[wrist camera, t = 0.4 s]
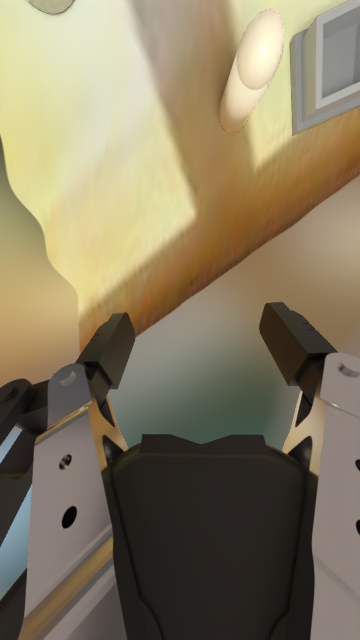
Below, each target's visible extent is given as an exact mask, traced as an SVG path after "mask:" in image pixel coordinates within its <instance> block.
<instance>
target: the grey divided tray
mask: <svg viewBox="0 0 360 640" xmlns="http://www.w3.org/2000/svg"><path fill="white" fill-rule="evenodd" d="M290 67H291V97H292V128H293V136H294V135H296V134H299V133H301V132H303V131H305V130H308V129H310V128H312V127H314V126H317V125H319V124H321V123H324V122H326V121H328V120H330V119H333V118H335V117H337V116H339V115H342V114H344V113H346V112H348V111H351V110H353V109H355V108H358V107H360V0H348V1H346V2H344V3H342V4H340V5H338V6H336V7H334V8H332V9H330V10H329V11H327V12H325V13H323V14H321V15H319V16H317V17H316V18H315V20H314V22H313V23H312V25H311V26H310V28H308V29H306V30H304V31H302V32H300V33H298V34H296V35H295V36H294V38H293V39H292V41H291V43H290Z"/></svg>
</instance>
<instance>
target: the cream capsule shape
mask: <svg viewBox="0 0 360 640" xmlns="http://www.w3.org/2000/svg"><path fill="white" fill-rule="evenodd" d="M283 47H284V25H283V21H282V18H281V16H280V15H279V13H278V12H277V11H275V10H273V9H266V10H263V11H261V12H260V13H258V14H257V15H256V16H255V17H254V18H253V19H252V21H251V22H250V23H249V25H248V26H247V28H246V30H245V32H244V34H243V36H242V39H241V41H240V44H239V47H238V50H237V53H236V56H235V60H234V63H233V66H232V69H231V72H230V75H229V78H228V81H227V84H226V87H225V90H224V94H223V97H222V100H221V103H220V107H219V120H220V123H221V125H222V127H223V129H224V130H225V131H227V132H229V133H236V132H238V131H240V130H241V129H242V128H243V127H244V126H245V124H246V122H247V121H248V119H249V117H250V115H251V114H252V112H253V110H254V109H255V107H256V105H257V103H258V102H259V100H260V98H261V97H262V95H263V93H264V91H265V90H266V88H267V86H268V85H269V83H270V81H271V79H272V78H273V76H274V74H275V72H276V70H277V68H278V65H279V63H280V60H281V56H282V52H283Z"/></svg>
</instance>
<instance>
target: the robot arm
mask: <svg viewBox="0 0 360 640" xmlns="http://www.w3.org/2000/svg"><path fill="white" fill-rule="evenodd" d="M28 1H29V2H30V3H31V4H32V5H33V6H35V7H36V8H38V9H39V10H41V11H43V12H46V13H49V14H57V13H60V12H62V11H65V10H66V9H67V8H68V7H69V6H70V5H71V3H72V2H73V0H28ZM259 330H260V334H261V336H262V338H263V340H264V342H265V344H266V345H267V347H268V349H269V351H270V353H271V355H272V357H273V358H274V360H275V362H276V364H277V366H278V368H279V370H280V371H281V373H282V375H283V377H284V379H285V381H286V382H287V384H288V386H299V387H300V389H301V390H302V391H301V392H300V394H299V397H298V402H297V406H296V410H295V414H294V419H293V422H292V427H291V430H290V433H289V435H288V437H287V439H286V441H285V444H284V447H283V450H282V451H280V450H279V449H277V448H275V447H273V446H270V445H268V444H266V443H265V440H264V437H263V435H230V436H226V437H223V438H221V439H217V440H214V441H211V442H208V443H205V444H198V443H194V442H191V441H189V440H186V439H182V438H180V437H176V436H174V435H170V434H167V435H166V434H155V435H153V434H150V435H149V434H147V435H146V434H143V435H142V441H141V443H139V444H137V445H135V446H132V447H131V448H129V449H128V447H127V444H126V442H125V440H124V438H123V436H122V434H121V433H120V431H119V428H118V425H117V422H116V419H115V416H114V413H113V410H112V407H111V404H110V401H109V399H108V396H107V393H108V391H109V389H118V386H119V383H120V381H121V378H122V375H123V372H124V370H125V367H126V364H127V361H128V359H129V355H130V353H131V350H132V347H133V345H134V342H135V331H134V328H133V325H132V323H131V320H130V317H129V315H128V313H126V312H124V313H113V314H112V316H111V317H110V319H109V320H108V322H105V323H104V324H103V325H101V326H100V327H99V328H98V329H97V331H96V332H95V334H94V336H93V337H92V338H91V341H89V343H88V344H87V346H86V347H85V349H84V350H83V352H82V353H81V355H80V356H79V358H78V359H77V361H76V362H75V363H73V364H69V365H67V366H65V367H63V368H61V369H60V370H58V371H57V372H56V373H55V374H54V375H53V376H52V378H51V379H50V380H47V381H44V382H40V383H37V384H34V385H33V384H31V383H30V382H29V381H28V380H26V379H17V380H14V381H11V382H9V383H7V384H6V385H4V386H2V387H1V388H0V446H1V444H2V443H3V441H4V440H5V439H6V437H7V436H8V434H9V433H10V431H11V430H12V429H13V427H14V426H16V427H18V428H20V429H22V432H21V433H20V435H19V436H18V438H17V439H16V441H15V442H14V444H13V445H12V447H11V448H10V450H9V451H8V453H7V454H6V456H5V458H4V459H3V461H2V462H1V464H0V546H1V544H2V542H3V540H4V538H5V536H6V534H7V532H8V530H9V528H10V526H11V524H12V522H13V520H14V518H15V516H16V514H17V512H18V510H19V508H20V506H21V504H22V502H23V500H24V498H25V496H26V494H27V492H28V490H29V488H30V486H31V484H32V497H31V514H30V515H31V516H30V532H29V549H28V567H27V568H26V569H25V571H24V572H23V573H22V574H21V576H20V577H19V578H18V579H17V581H16V582H15V583H14V584H13V585H12V587H11V588H10V589H9V590H8V592H7V593H6V594H5V595H4V597H3V598H2V599H1V600H0V640H360V359H358V358H356V357H354V356H351V355H348V354H344V353H338V352H337V351H336V349H334V347H333V346H332V345H331V344H330V343H329V342H328V341H327V340H326V339H325V338H324V337H323V336H322V335H321V334H320V333H319V332H318V331H317V330H315V328H314V327H313V326H312V325H311V324H309V322H308V321H307V320H306V319H305V318H304V317H303V316H302V315H300V314H299V313H297V312H295V311H292V310H289V308H288V307H287V306H286V305H285V304H284V303H283V302H274V303H266V304H265V307H264V310H263V314H262V318H261V321H260V325H259Z"/></svg>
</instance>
